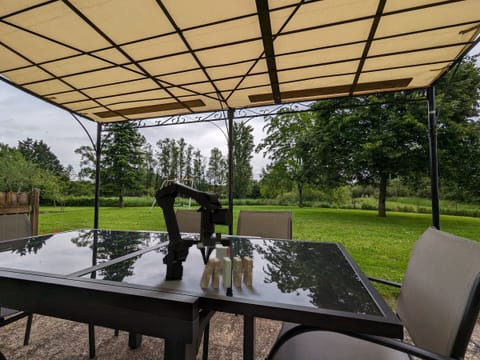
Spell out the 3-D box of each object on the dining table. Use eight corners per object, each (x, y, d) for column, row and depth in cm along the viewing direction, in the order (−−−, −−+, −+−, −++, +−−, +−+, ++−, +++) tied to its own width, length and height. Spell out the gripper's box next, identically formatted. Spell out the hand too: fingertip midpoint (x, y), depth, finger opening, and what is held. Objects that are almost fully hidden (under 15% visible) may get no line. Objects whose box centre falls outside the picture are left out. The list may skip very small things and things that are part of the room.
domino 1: (202, 287, 86) (210, 261, 87) (200, 282, 91) (208, 257, 93) (207, 288, 86) (215, 262, 88) (204, 283, 92) (212, 258, 94)
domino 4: (236, 286, 89) (237, 260, 90) (232, 281, 95) (233, 257, 96) (241, 286, 90) (242, 260, 91) (237, 281, 96) (238, 256, 97)
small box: (225, 270, 111) (226, 248, 112) (214, 269, 112) (215, 247, 113) (229, 266, 119) (230, 245, 120) (219, 265, 120) (220, 244, 121)
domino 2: (213, 288, 87) (215, 261, 88) (211, 283, 93) (212, 257, 94) (218, 288, 87) (220, 261, 88) (215, 282, 93) (217, 257, 94)
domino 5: (247, 286, 91) (248, 260, 92) (242, 281, 96) (243, 256, 97) (252, 285, 91) (253, 260, 92) (247, 280, 97) (248, 256, 98)
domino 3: (225, 287, 88) (226, 261, 89) (222, 282, 94) (223, 257, 95) (230, 287, 89) (231, 260, 90) (226, 282, 94) (227, 257, 95)
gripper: (184, 226, 81) (181, 272, 79) (235, 226, 86) (233, 269, 84) (183, 223, 91) (180, 263, 90) (228, 223, 97) (226, 262, 95)
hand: (205, 264), depth 89 cm, fingers closed
